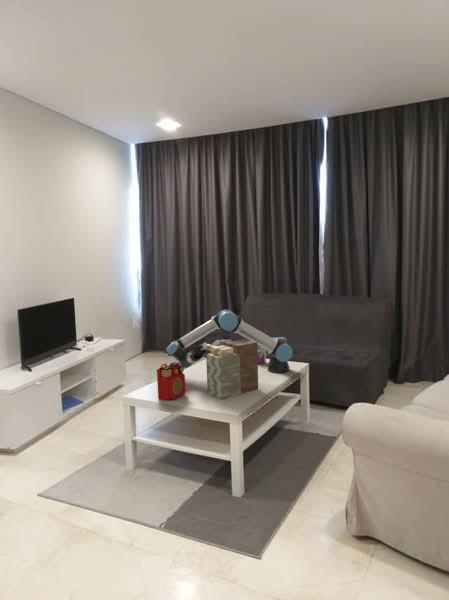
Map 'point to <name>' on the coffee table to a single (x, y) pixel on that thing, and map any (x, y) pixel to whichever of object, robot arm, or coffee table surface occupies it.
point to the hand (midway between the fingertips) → (212, 343)
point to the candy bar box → (261, 355)
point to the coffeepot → (222, 342)
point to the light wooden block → (220, 350)
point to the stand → (233, 370)
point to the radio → (170, 381)
